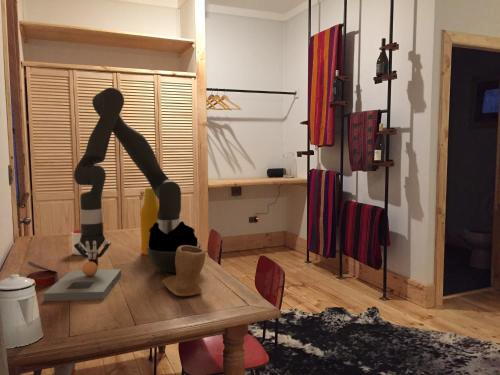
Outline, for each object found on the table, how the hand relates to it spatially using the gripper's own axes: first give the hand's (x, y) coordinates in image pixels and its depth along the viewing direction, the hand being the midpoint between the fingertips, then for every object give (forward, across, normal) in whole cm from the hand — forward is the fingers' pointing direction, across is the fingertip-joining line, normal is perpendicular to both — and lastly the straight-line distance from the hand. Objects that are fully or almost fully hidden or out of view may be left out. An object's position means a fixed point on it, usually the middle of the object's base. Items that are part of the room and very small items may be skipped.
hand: (93, 268), depth 153 cm
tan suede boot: (+4, -34, +16) cm, 38 cm away
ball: (-1, 0, +5) cm, 5 cm away
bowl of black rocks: (+4, -28, -6) cm, 29 cm away
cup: (+4, +15, -37) cm, 40 cm away
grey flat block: (+4, 0, +10) cm, 11 cm away
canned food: (+4, +17, +3) cm, 17 cm away
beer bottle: (+4, -15, -35) cm, 38 cm away
